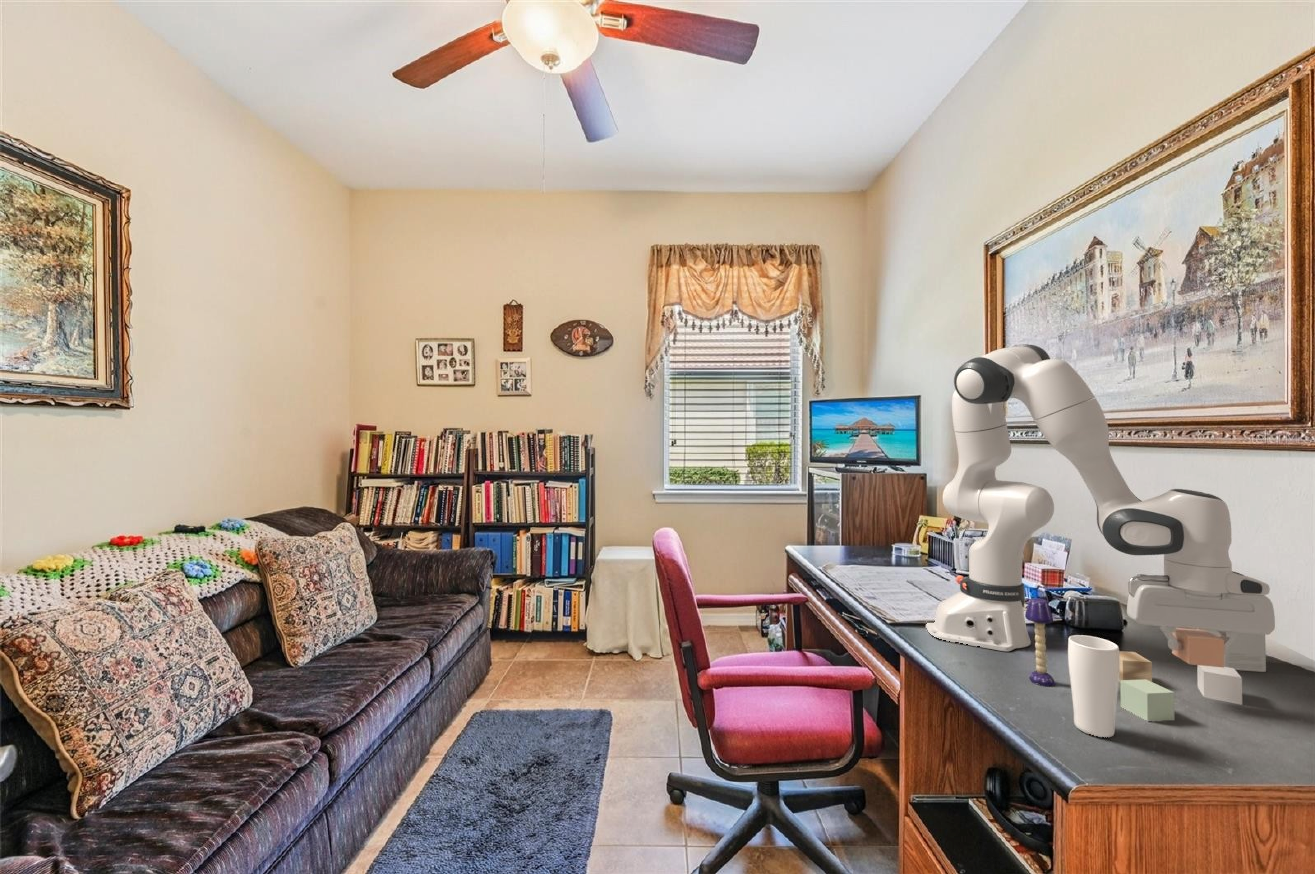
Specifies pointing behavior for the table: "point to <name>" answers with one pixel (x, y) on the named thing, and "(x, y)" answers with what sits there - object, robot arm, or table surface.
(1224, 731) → the table surface
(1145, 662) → the oak block
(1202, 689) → the grey block
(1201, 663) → the terracotta block
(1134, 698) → the sage block
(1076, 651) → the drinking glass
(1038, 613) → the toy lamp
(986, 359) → the robot arm
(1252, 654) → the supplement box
